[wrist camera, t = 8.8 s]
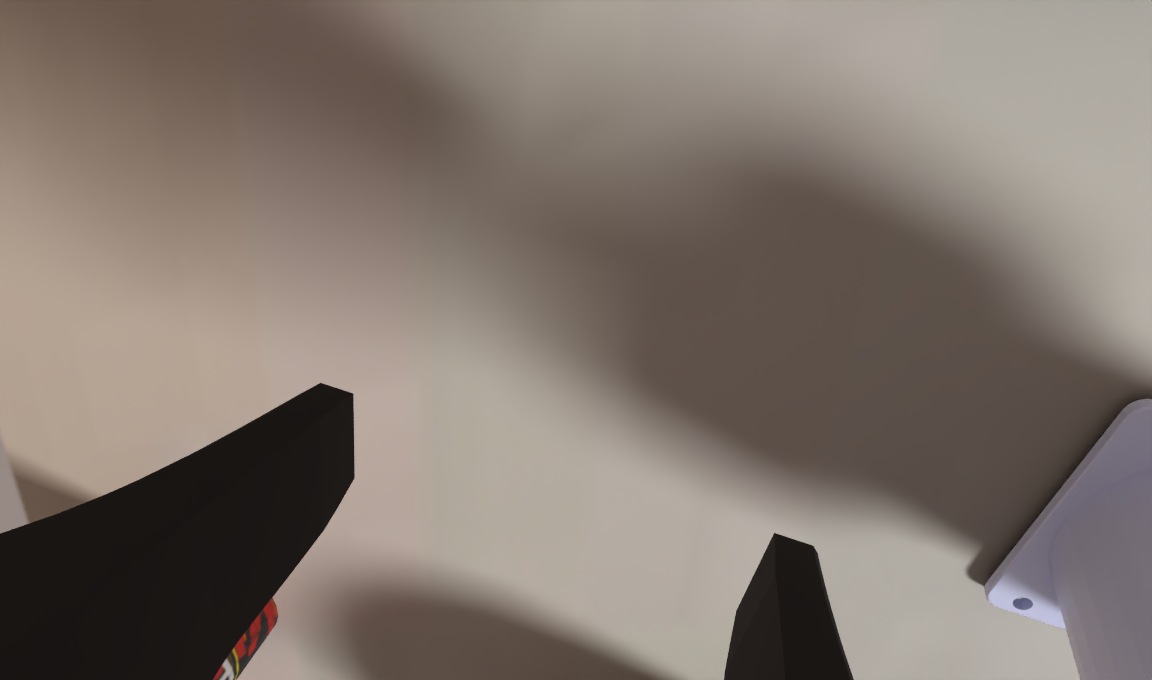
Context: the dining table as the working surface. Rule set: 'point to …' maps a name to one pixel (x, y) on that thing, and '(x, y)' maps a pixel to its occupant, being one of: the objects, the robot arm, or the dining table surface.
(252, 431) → the robot arm
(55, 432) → the dining table surface
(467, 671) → the dining table surface
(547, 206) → the dining table surface
